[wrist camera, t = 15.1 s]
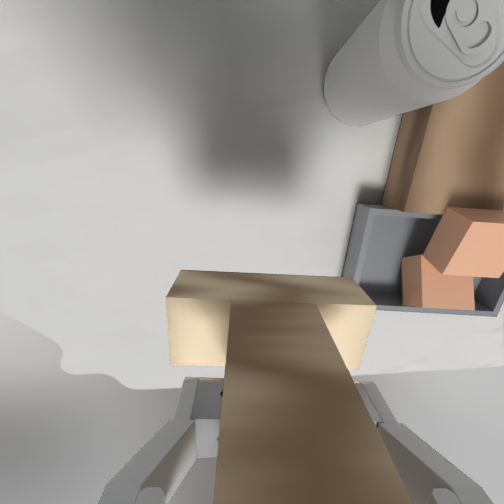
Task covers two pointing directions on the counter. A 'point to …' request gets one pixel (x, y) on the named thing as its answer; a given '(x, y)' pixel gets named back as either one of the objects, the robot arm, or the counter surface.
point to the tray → (390, 259)
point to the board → (451, 153)
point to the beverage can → (413, 57)
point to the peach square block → (434, 286)
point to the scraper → (285, 386)
